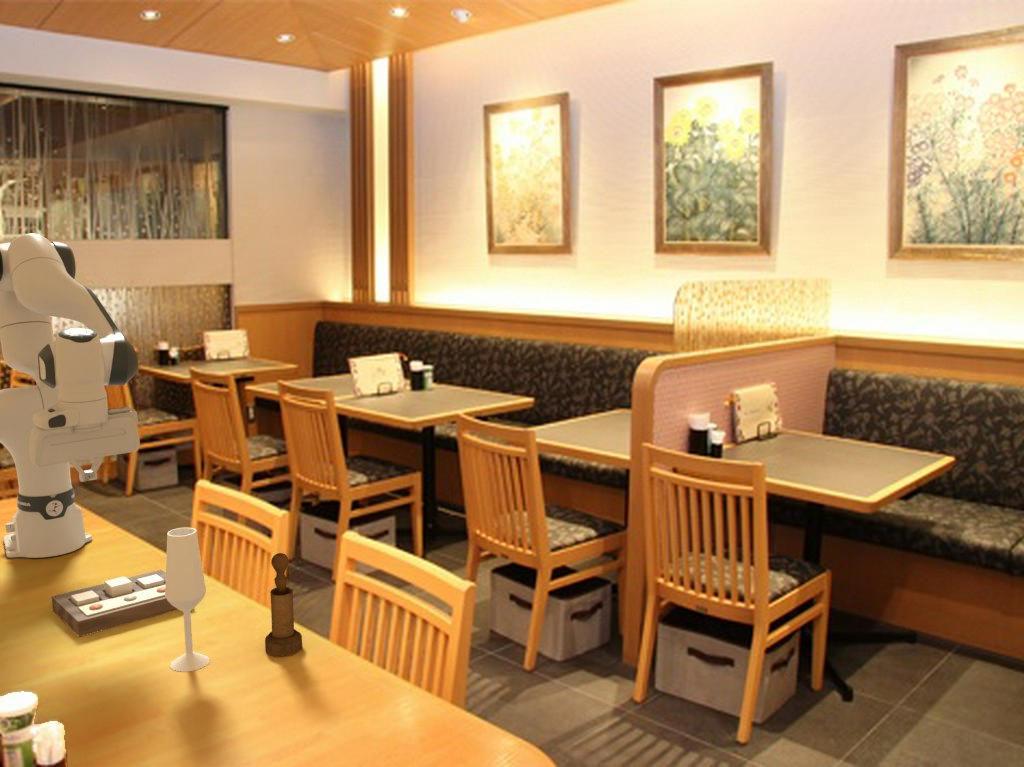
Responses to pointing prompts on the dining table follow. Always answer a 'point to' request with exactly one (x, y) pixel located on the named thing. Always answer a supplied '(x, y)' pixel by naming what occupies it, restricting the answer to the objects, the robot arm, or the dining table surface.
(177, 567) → the champagne flute
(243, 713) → the dining table surface
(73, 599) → the button
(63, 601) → the button board
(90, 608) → the pattern card
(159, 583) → the button
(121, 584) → the button middle
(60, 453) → the robot arm
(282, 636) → the mortar and pestle
